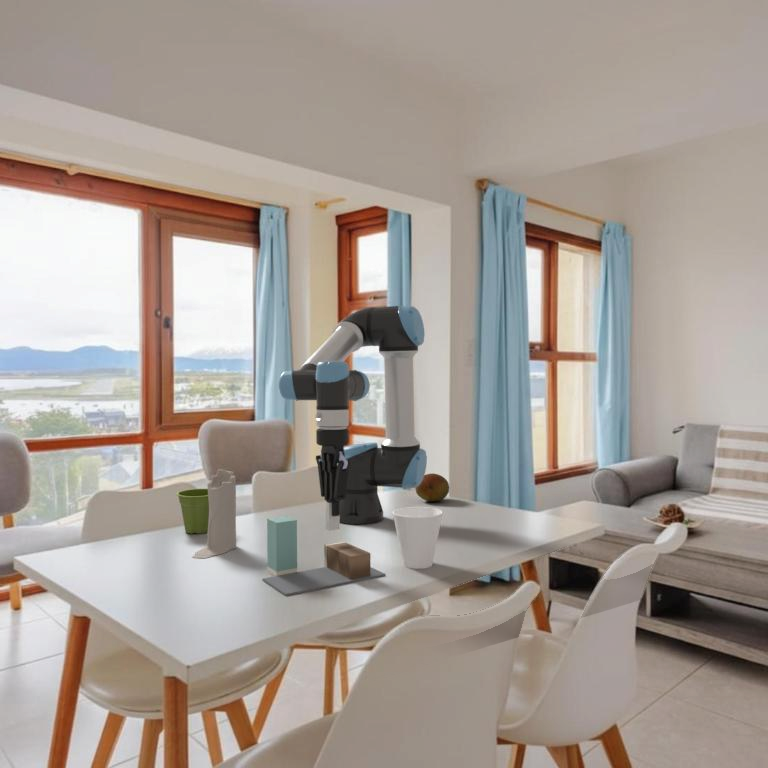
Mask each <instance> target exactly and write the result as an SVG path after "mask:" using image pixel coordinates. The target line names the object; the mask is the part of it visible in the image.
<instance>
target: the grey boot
mask: <svg viewBox="0 0 768 768" xmlns="http://www.w3.org/2000/svg"><path fill="white" fill-rule="evenodd" d="M236 481H237V477H236V475H235V473H234V471H231V470H230V471H229V470H226V469H222V468H221V469H220V468H218V469H216V475H215V474H214V475H211V476H210V479H209V480H208V481H207V489H208V498H209V523H208V532H207V541H206V545H205V547H204V548H201V549H199V550H197V551H196V552H195V553H194V555H193V556H192V558H195V559H207V558H210V557H214V556H215V557H216V556H219V555H223V554H226V553H228V552H230V551H232V550H234V549H236V548H237V527H236V526H237V524H236V523H237V522H236V521H237V519H236V518H237V517H236V516H237V515H236V513H237V497H236V496H237V492H236V491H237V486H236V485H237V483H236Z"/></svg>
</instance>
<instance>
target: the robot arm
mask: <svg viewBox="0 0 768 768" xmlns="http://www.w3.org/2000/svg"><path fill="white" fill-rule="evenodd" d="M424 342H425V327H424V321H423V317H422V315H421V313H420V311H419V309H417V308H416V307H415V306H412V305H411V306H410V305H395V306H393V305H392V306H377V307H374V306H371V307H365V308H361V309H359V310H356V311H355V312H352V313H350V314H349V315H347V316H346V317H344V318H343V319H342V320H340V321H339V322H338V323H337V324H336V325H335V326H334V328H333V331H332V334H331V335H330V336H329V337H328V338H327V339H326V340H325V342H324V343H322V344H321V346H320V347H319V348H318V349H317V350H316V351H315V352H313V354H312V355H311V356H310V357H308V359H306V361H305V362H304V363H303V364H301V366H299V368H298V369H297V370H294V369H291V370H285V371H283V372H282V373H281V375H280V377H279V379H278V380H279V381H278V389H279V393H280V396H282V398H283V399H284V400H288V401H296V402H297V401H298V402H299V401H316V413H315V418H316V426H317V427H318V428H317V430H316V431H315V432H316V435H315V436H316V437H315V439H316V441H315V442H316V444H317V445H318V446H320V447H321V448H320V449H321V450H320V452H321V453H320V455H316V456H315V461H316V464H317V471H318V472H317V473H318V479H319V481H318V482H319V489H320V496H321V497H322V498H323V497H324V501H326V502H325V505H326V506H325V515H326V516H325V518H326V519H325V521H326V523H325V524H326V527H325V530H327V531H329V532H330V531H336V530H340V526H341V525H340V523H342V524H348V525H367V524H374V523H378V522H382V521H383V520H384V510H383V506H382V504H381V500H380V498H379V494H378V487H387V488H388V487H389V488H400V489H401V488H402V489H415V488H416V487H418V486H419V485H420V484H421V482H422V480H423V477H424V475H426V474H425V473H426V471H427V470H426V468H427V460H428V459H427V458H428V456H427V452H426V450H425V449H423V448H421V442H420V441H419V439H417V438H416V437H415V395H414V394H415V393H414V392H415V391H414V389H415V387H414V356H415V355H416V354H418V352H419V346H421V345H423V344H424ZM362 347H378V353H379V354H380V355H381V356H382V357H383V360H384V362H383V363H384V364H383V365H384V399H385V400H384V406H385V438H384V439H383V440H382V441H381V444H380V447H379V445H378V443H377V442H365V443H364V442H363V443H357V444H350V445H348V444H349V443H350V442H349V441H350V432H349V428H348V427H349V426H350V424H349V423H350V417H349V415H350V413H349V409H350V408H349V407H350V406H349V405H350V404H349V403H350V402H352V401H353V402H357V401H358V400H359V401H360V400H362V399H364V398H365V397H366V396H367V395H368V393H369V391H370V388H371V387H370V384H371V383H370V381H369V378H368V376H367V375H366V374H365V373H364V372H362V371H360V370H357V369H349V363H348V362H346V361H345V360H347V359H348V357H349V356H351V354H352V353H355V352H357V351H359V350H360V348H362Z"/></svg>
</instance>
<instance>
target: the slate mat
mask: <svg viewBox="0 0 768 768" xmlns="http://www.w3.org/2000/svg"><path fill="white" fill-rule="evenodd" d="M370 575H371V576H367V577H362V578H357V579H352V580H350V579H348V578H346V577H344V576H343V575H341V574H339V573H337V572H335V571H333V570H331V569H329V568H327V567H325V566H322V567H319V568H313V569H307V570H306V569H305V570H302V571H297V572H295V573H290V574H284V575H279V576H274V575H273V576H269V577H263V578H262V580H261V581H263V582H264V583H265V584H267V585H268V586H270V587H271V586H272V588H273V589H274V588H275V589H274V590H276V591H277V590H278V591H277V592H279V593H280V594H282V595H284V596H285V597H287V596H291V595H298V594H301V593H307V592H311V591H312V592H313V591H317V590H322V589H325V588H332V587H337V586H341V585H346V584H347V585H348V584H351V583H356V582H360V581H366V580H371V579H376V578H380V577H385V576H386V573H385V572H382V571H380V570H378V569H376V568H374V567H372V566H370Z"/></svg>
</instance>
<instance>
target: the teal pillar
mask: <svg viewBox="0 0 768 768" xmlns="http://www.w3.org/2000/svg"><path fill="white" fill-rule="evenodd" d="M266 521H267V524H266V527H267V530H266V531H267V534H266V535H267V536H266V537H267V538H266V539H267V540H266V543H267V546H266V547H267V572H268V573H269V574H271V575H272V576H273V577H274V576H279V575H284V574H290V573H295V572H298V520H297V519H295V518H293V517H291V516H288V515H286V516H277V517H271V518H266Z"/></svg>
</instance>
